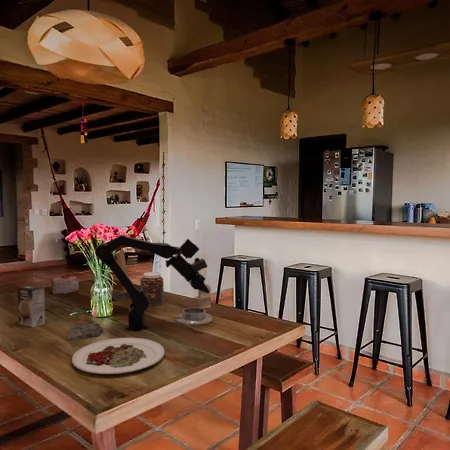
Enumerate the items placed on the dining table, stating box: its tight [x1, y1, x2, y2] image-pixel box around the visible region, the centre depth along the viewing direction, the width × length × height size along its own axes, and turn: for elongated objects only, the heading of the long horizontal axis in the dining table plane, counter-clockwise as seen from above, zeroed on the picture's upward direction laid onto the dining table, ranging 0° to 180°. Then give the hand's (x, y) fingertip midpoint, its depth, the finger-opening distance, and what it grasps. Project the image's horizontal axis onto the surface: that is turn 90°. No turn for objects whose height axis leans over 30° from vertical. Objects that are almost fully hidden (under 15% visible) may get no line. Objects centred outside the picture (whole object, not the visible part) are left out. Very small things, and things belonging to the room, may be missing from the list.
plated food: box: [71, 337, 165, 375], centre depth 137 cm, size 30×30×3 cm
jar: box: [139, 271, 165, 307], centre depth 206 cm, size 12×12×15 cm
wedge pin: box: [197, 284, 212, 309], centre depth 175 cm, size 4×4×9 cm
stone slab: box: [65, 320, 104, 341], centre depth 162 cm, size 13×17×3 cm
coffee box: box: [17, 283, 46, 328], centre depth 171 cm, size 9×6×16 cm
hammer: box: [111, 246, 140, 301], centre depth 214 cm, size 20×5×30 cm, turn 121°
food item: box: [51, 274, 80, 295], centre depth 227 cm, size 14×8×10 cm, turn 121°
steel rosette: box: [175, 306, 213, 326], centre depth 179 cm, size 16×16×4 cm
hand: (207, 291), depth 175 cm, fingers closed on wedge pin, 4 cm apart
